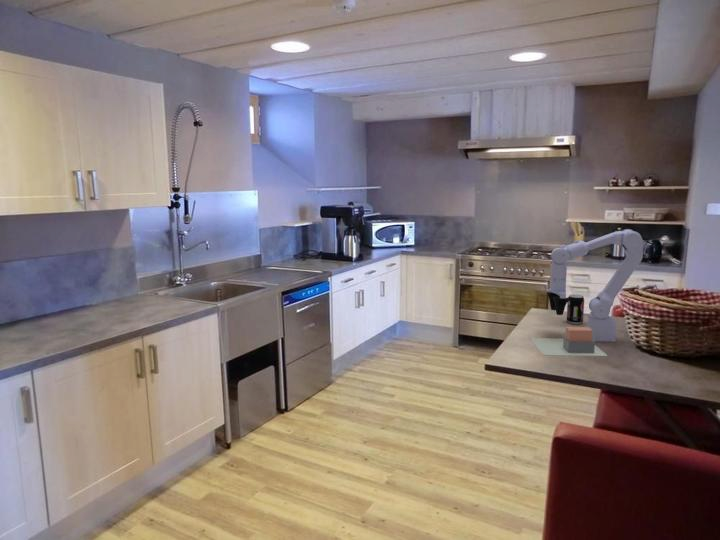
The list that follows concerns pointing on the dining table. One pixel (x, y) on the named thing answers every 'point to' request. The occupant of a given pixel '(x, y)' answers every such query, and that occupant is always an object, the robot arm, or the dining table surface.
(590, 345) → the grey base brick
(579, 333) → the terracotta brick
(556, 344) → the baseplate
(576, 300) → the beverage can
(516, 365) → the dining table surface
